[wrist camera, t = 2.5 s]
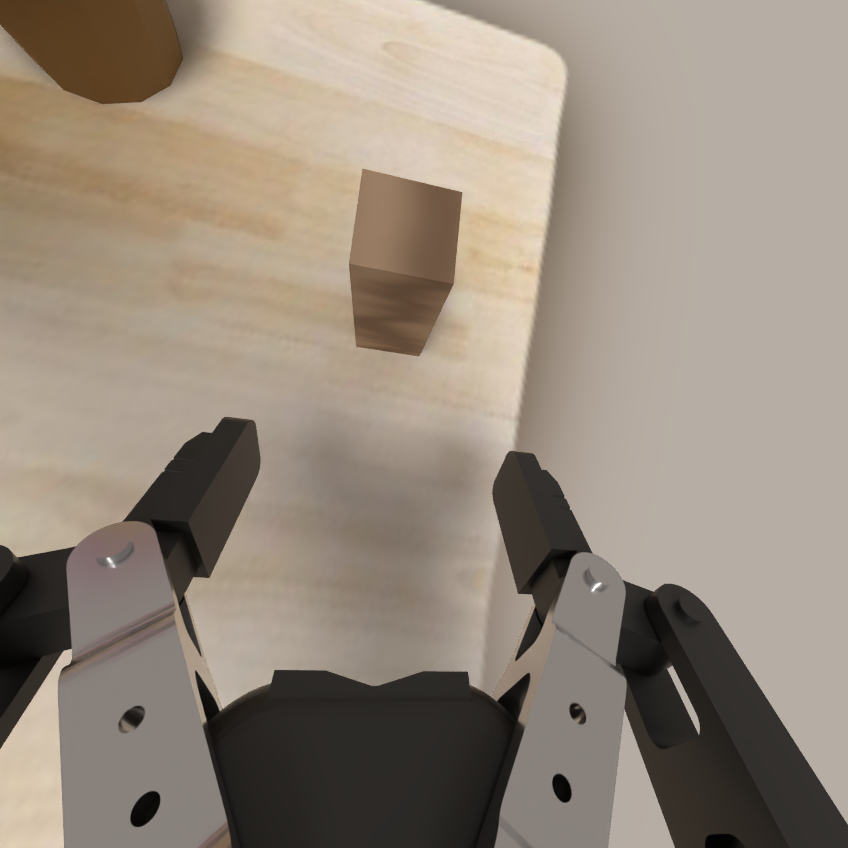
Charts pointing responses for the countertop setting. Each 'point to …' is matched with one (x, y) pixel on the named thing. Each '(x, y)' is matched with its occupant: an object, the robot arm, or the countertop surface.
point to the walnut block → (401, 260)
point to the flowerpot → (98, 44)
